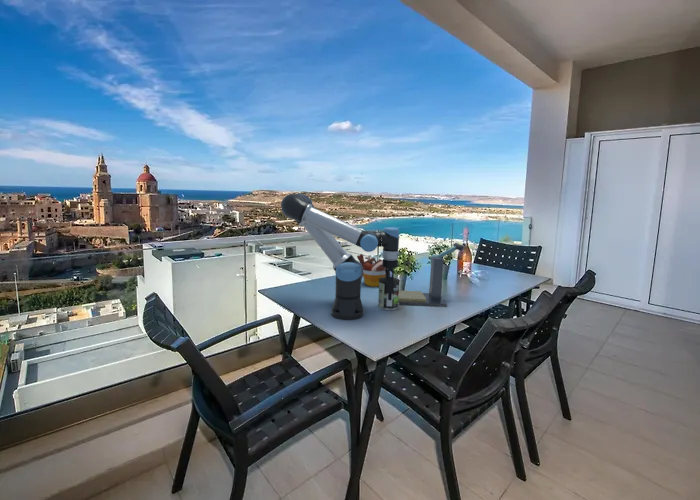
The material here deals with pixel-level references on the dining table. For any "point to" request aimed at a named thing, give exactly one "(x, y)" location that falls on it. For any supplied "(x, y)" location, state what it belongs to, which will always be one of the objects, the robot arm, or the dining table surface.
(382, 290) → the coffee can
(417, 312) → the dining table surface
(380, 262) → the bucket of meat
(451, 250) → the press lever
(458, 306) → the dining table surface
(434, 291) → the press frame
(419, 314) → the dining table surface
